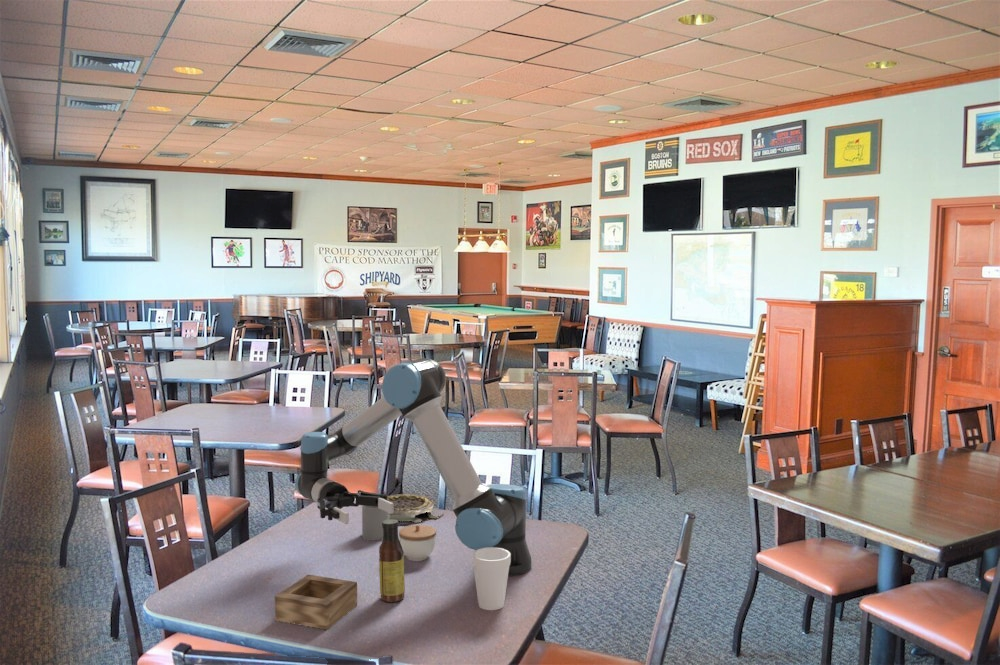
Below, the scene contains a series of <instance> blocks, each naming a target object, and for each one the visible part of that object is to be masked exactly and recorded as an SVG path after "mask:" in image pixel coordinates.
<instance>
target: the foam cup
mask: <svg viewBox="0 0 1000 665" xmlns="http://www.w3.org/2000/svg"><path fill="white" fill-rule="evenodd" d="M510 563H511V553H510V552H509V551H508V550H505V549H502V548H496V547H486V548H481V549H478V550H474V551H473V552H472V565H473V572H474V578H475V579H474V580H475V587H476V596H477V603H478V606H479V608H480V609H483V610H486V611H496V610H500V609H502V608H504V606H505V601H506V599H505V598H506V594H507V592H506V591H507V585H508V579H509V576H508V572H509V566H510Z"/></svg>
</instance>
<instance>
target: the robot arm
mask: <svg viewBox="0 0 1000 665" xmlns="http://www.w3.org/2000/svg"><path fill="white" fill-rule="evenodd" d="M446 383H447V376H446V372H445V369H444V368H443V366H442V365H441V364H440V363H439V362H438V361H436V360H434V359H431V358H425V357H424V358H418V359H413V360H409V361H402V362H401V361H400V363H397V364H395V365H392V366H391V367H390V368H389V369H387V371H386V372H385V374H384V376H383V379H382V383H381V390H382V394H383V396H382V397H381V398H380V399H378V400H377V401H376V402H375V403H373V404H371V405H370V406H369V407H367V408H366V409H365V410H364V411H362V412H361V413H360V414H357V415H356V416H355V417H354V418H352V419H351V420H350V421H348V422H347V423H346V424H344V425H343V426H342V427H340V428H338V430H337V431H335V432H333V433H330V434H327V433H326V432H322V431H311V432H305V433H303V434H302V435H301V439H300V440H301V442H300V443H301V444H300V473H299V474H298V475H297V477H296V479H295V482H294V487H295V491H296V492H297V493H299V494H300V495H301V496H302V497H303V498H305V499H308V500H310V501H312V502H314V503H316V504H317V505H316V507H317V509H318V510H319V515H320V518H321V519H325V518H326V517H327V521H333V519H334V520H337V521H339V522H341V523H343V524H345V525H347V524H348V525H349V524H350V523H349V521H350V520H349V515H350V514H349V512H347V511H346V510H343V508H344V507H345V508H348V507H357V508H358V507H359V506H362V505H366V506H378V508H380V509H382V510H384V511H386V512H388V513H390V514H393V512H394V503H391V502H389V501H387V496H388V495H387V494H383V493H376V492H375V493H374V492H370V491H369V492H368V491H365V490H364V491H363V490H357V492H351V491H349V490H348V488H347V487H346V486H345V485H344V484H341V483H339V482H338V481H335V480H333V479H330V478H328V463H329V462H331V461H333V460H336V459H339V458H341V457H344V456H345V457H346V456H349V455H350V454H352V453H353V452H355V451H357V449H358V447H359V446H360V445H361V444H363V443H364V442H366V441H368V439H370V438H371V437H372V436H374V435H375V434H377V433H378V432H379V431H381V430H382V429H384V428H386V427H387V426H388V425H389V424H391V423H393V422H394V421H395V420H397V419H398V418H400V417H401V416H402V417H403V419H406V420H409V421H411V423H412V424H413V425H414V428H415V430H416V431H417V433H418V435H419V437H420V438H421V441H422V443H423V444H424V447H425V448H426V450H427V452H428V454H429V456H430V458H431V459H432V461H433V463H434V465H435V466H436V469H437V471H438V473H439V475H440V476H441V478H442V480H443V483H444V484H445V486H446V487H447V489H448V492H449V493H450V495H451V497H452V499H453V504H452V508H451V509H452V511H453V513H454V515H455V517H456V520H455V526H454V528H455V533H456V536H457V538H458V540H459V541H460V542H461V544H463V546H465V547H466V548H468V549H471V550H474V551H476V550H478V549H481V548H486V547H496V548H502V549H505V550H508V551H509V552H510V553H511V563H510V566H509V572H508V577H512V576H518V575H520V576H521V575H523V574H525V573H527V572H529V571H530V570H531V569H532V556H531V553H530V550H529V547H528V543H527V538H526V530H527V528H526V527H527V524H526V522H527V500H528V499H527V495H526V494H527V493H526V489H525V488H524V487H522V486H520V485H514V484H508V483H507V484H506V483H492V484H487V485H485V484H483V483H482V481H481V479H480V477H479V475H478V474H477V472H476V470H475V468H474V465H472V463H471V460H470V458H469V457H468V455H467V453H466V452H465V450H464V448H463V446H462V443H461V442H460V440H459V438H458V437H457V435H456V433H455V431H454V429H453V426H452V425H451V424H450V421H449V420H448V418H447V416H446V414H445V412H444V411H443V408H442V406H441V403H442V399H443V396H442V395H441V393H442V392H443V391H444V389H445V386H446Z"/></svg>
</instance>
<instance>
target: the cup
mask: <svg viewBox="0 0 1000 665" xmlns="http://www.w3.org/2000/svg"><path fill="white" fill-rule="evenodd" d="M361 511H362V513H361V514H362V516H361V520H362V521H361V524H362V526H361V527H362V529H361V531H362V533H361V534H362V535H361V536H362V538H363V539H364V538H365V540H367V541H368V540H369V541H379V540H380V539H381V540H383V527H382V522H383V521H384V520H389V513H388V512H386V511H384V510H382V509H380V508H378V506H366V505H361Z"/></svg>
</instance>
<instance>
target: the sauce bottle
mask: <svg viewBox="0 0 1000 665" xmlns="http://www.w3.org/2000/svg"><path fill="white" fill-rule="evenodd" d="M399 526H400V524H399V522H398V521H397V520H395V519H389V520H384V521H383V522H382V527H383V539H382V542H381V544H380V545H379V547H378V548H379V549H378V552H379V553H378V554H379V557H378V558H379V559H378V563H379V564H378V570H379V571H378V572H379V593H380V599H381V600H382V601H383V602H386V603H396V602H399V601H401V600H403V599H404V598H405V593H406V588H405V587H406V586H405V585H406V584H405V556H404V552H403V549H402V546H401V543H400V540H399Z"/></svg>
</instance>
